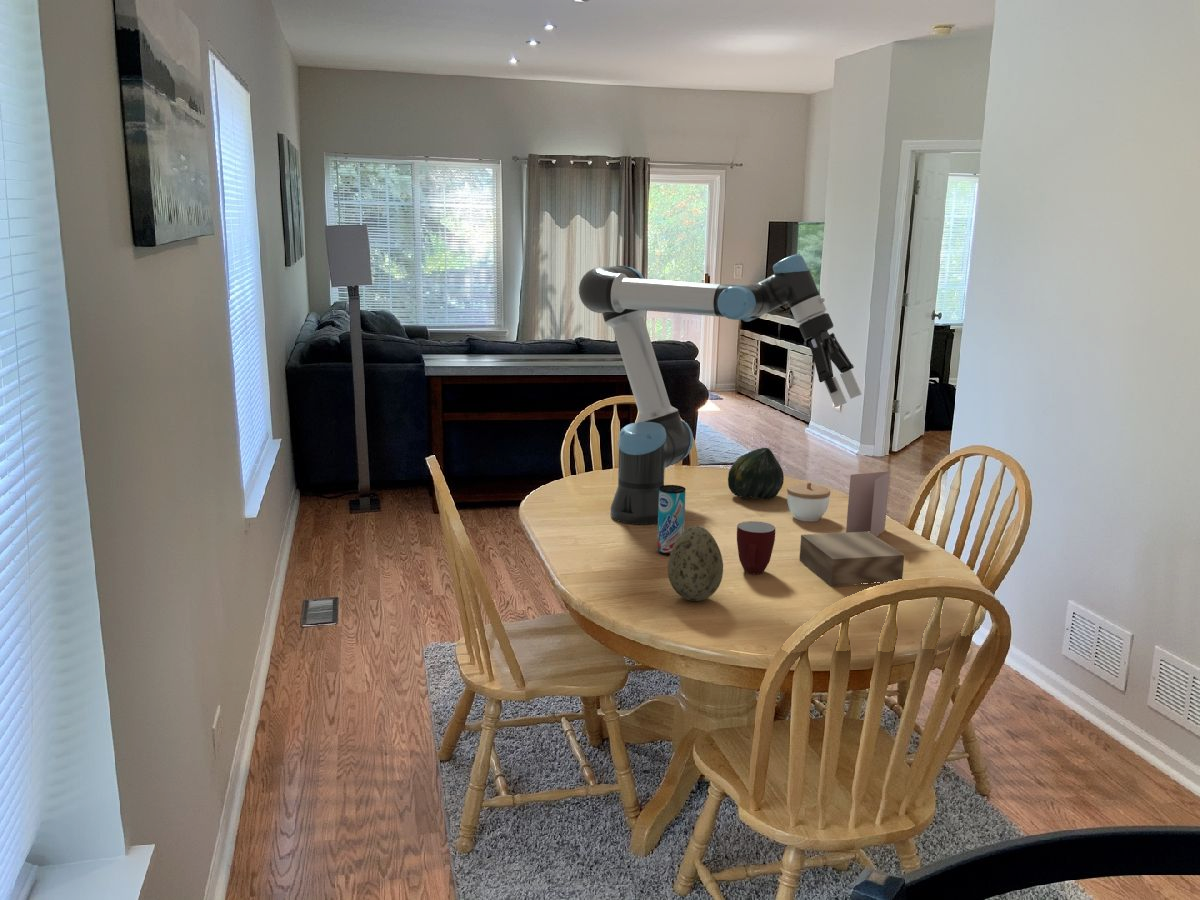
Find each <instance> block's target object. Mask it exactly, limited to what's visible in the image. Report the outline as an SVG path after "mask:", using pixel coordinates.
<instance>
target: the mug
mask: <svg viewBox="0 0 1200 900" xmlns="http://www.w3.org/2000/svg"><path fill="white" fill-rule="evenodd" d="M775 541H776V527H775V526H774V525H773V524H771V523H767V522H764V521H756V520H755V521H754V520H750V521H742V522H740V523H738V524H737V526H736V545H737V550H738V551H737V552H738V559H739V562H740V564H741V567H742V569H743V570H744V572H746V573H747V574H750V575H761V574H763V573H764V572H765V570H766V569H767V567H768V566H769V563H770V562H771V558H772V553H773V549H774V545H775Z"/></svg>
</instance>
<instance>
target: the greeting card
mask: <svg viewBox="0 0 1200 900" xmlns="http://www.w3.org/2000/svg"><path fill="white" fill-rule="evenodd" d="M890 474H891V471H878V472H868V473H855V474H850V477H849V491H848V502H847V503H848V504H847V513H846V514H847V515H846V525H845V526H846V528H845V529H846V530H845V533H847V532H867V531H870V533H871V534H873V535H874V536H877V535H878V536H879V535H881V532H882V531H883V530H884V529H885V530H886V519H887V508H888V507H887V506H888V496H889V485H890ZM885 530H884V531H885ZM884 531H883V532H884ZM883 532H882V533H883ZM878 536H877V537H878Z"/></svg>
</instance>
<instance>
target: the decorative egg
mask: <svg viewBox="0 0 1200 900" xmlns="http://www.w3.org/2000/svg"><path fill="white" fill-rule="evenodd" d="M723 561H724V560H723V556H722V552H721V550H720V548H719V545H718V543H717V541H716V539H715V538H714V537H713V535H712V534H711V532H709V531H708V530H707V529H706V528H704V527H703V526H700V525H693V526H689V528H687V529H684V532H683V533H682V534H681V535H680V536H679V538H678V539H677V540H676V542H675V544H674V546H673V548H672V550H671V553H670V555H668V560H667V575H668V581H669V582H670V585H671V588H672V589H673V590H674V591H675V592H676V594H677V595H679V596H680V597H681V598H683V599H684V600H686V601H687V600H688V601H691V602H700V601H704V600H706V599H708V598H710V597H711V596H712V595H713V594H715V592H717V590H718V588H719V587H720V584H721V583H722V579H723V575H724V562H723Z"/></svg>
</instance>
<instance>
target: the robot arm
mask: <svg viewBox="0 0 1200 900" xmlns="http://www.w3.org/2000/svg"><path fill="white" fill-rule="evenodd" d="M772 270H773V274H771V276H768V277H767V278H765V279H762V280H761V281H758V282H757V283H753V284H745V285H737V284H719V283H707V282H706V283H705V282H692V281H678V280H677V281H676V280H665V279H664V280H663V279H650V278H645V277H644V276H643V274H642V273H640V272H641V271H639V270H637V269H636V268H633V267H630V266H626V265H617V266H598V267H594V268H592V269H590V270H588V271H587V272H586V273H585V274H584V275H583V277H582V278H581V280H580V281H579V286H578V294H579V295H578V296H579V298H580V300H581V302H582V304H583V305H584V307H586V309H587V310H589V311H591V312H594V313H597V314H602V317H603V320H604V324H605V325H607V326H609V327H611V328H612V330H613V333H614V336H615V340H616V342H617V346H618V349H619V353H620V356H621V359H622V362H623V366H624V369H625V372H626V375H627V379H628V381H629V385H630V389H631V391H632V395H633V398H634V400H635V404H636V407H637V412H638V413H639V414H638V417H637V419H636V421H635V422H631V423H629V424H626V425H625V426H624V427H622V428H621V430H620V432H619V438H618V443H617V444H618V475H617V477H618V479H617V480H618V482H617V488H616V491H615V493H614V495H613V496H614V497H613V499H612V501H611V502H612V503H611V506H610V517H611V516H612V517H613V518H614V520H615V519H616V520H615V521H618V520H619V521H618V522H620V523H625V522H626V524H630V525H631V524H632V523H634V524H633V525H652V524H653V525H654V524H658V504H659V487H661V486H664V485H665V469H666V468H668V467H670V466H672V465H677V464H678V463H681V461H683V460H684V459H685V458H686V457H687V456H688V455H689V453H690V452H691V450H692V448H693V445H694V435H693V431H692V428H691V427H690V425H689V423H687V422H686V421H684V420H683V419H681V415H680V412H679V409H678V408H676V407H674V406H672V405H671V402H670V399H669V396H668V393H667V389H666V386H665V383H664V380H663V375H662V373H661V369H660V367H659V364H658V359H657V357H656V354H655V349H654V347H653V344H652V340H651V337H650V334H649V331H648V328H647V325H646V321H645V316H646V314H647V312H659V313H671V314H682V315H683V314H686V315H697V316H706V317H707V316H709V317H710V316H711V317H720V318H726V319H728V320H733V321H736V320H739V321H741V320H742V321H743V322H746V323H747V322H751V321H754V320H756V319H758V318H761V317H762V316H764V315H765V314H767V313H770V312H771V311H773V310H775V309H778V308H779V307H782V306H784V305H785V304H787V305H788V306H789V310H790V311H791V313H792V316H793V319H794V321H795V323H796V324H799V326H798V329H799V331H800V333H801V335H802V338H803V339H804V340H809V339H810V338H811V339H810V340H809V341H808V342H807V344H808V345H809V349H810V351H811V354H812V358H813V362H814V366H815V370H816V373H817V377H818V381H819V382H820V383H823V382H824V385H825V388H826V389H827V392H828V394H829V396H830V399H831V401H832V403H833V405H834V407H835V408H838V407H840V406H842V405H845V404H846V403H847V399H846V397H845V395H844V392H843V390H842V388H841V386H840V384H839V381H838V380H837V377H836V376H834V371H833V365H834V366H835V367H836V368H837V370H838V371H839V372H840V374H839V375H840V378H841V380H842V383H843V384H844V387H845V389H846V391H847V393H848V396H849V398H850V400H851V399H854V398H856V397H859V396H861V395H862V392H861V390H860V387H859V385H858V382H857V380H856V377H855V375H854V374H853V370H852V369H854V367H855V366H854V364H852V362H851V361H850V359H849V358H848V355H846V352H845V351H844V350H843V348H842V346H841V345H840V343H839V341H838V339H837V337H836V335H835V333H834V332H831V333H829V332H828V331H830V330H831V329H833V328H834V323H833V321H832V319H831V317H830V314H829V313H827V312H826V311H827V308H826V305H825V303H824V302H825V301H826V300H825V299H826V298H824V297H822V296H821V295H820V291H819V289H818V287H817V284H816V282H815V280H814V278H813V275H812V273H811V270H810V268H809V266H808V265H807V263H806V261H805V259H804V256H803V255H801V254H792V255H790V256H787V257H785V258H783V259H781V260H779V261H777V262H776V263H775V264H773V266H772ZM832 363H833V365H832ZM612 517H611V518H612ZM613 518H612V519H613Z"/></svg>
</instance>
